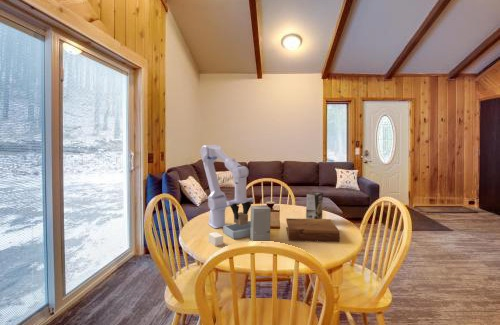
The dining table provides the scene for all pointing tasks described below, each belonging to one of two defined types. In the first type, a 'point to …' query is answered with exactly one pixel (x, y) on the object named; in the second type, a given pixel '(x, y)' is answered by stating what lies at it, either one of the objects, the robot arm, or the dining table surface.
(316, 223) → the brown flat block
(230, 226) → the tote
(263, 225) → the skincare box
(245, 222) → the walnut block
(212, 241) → the cream box
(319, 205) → the coffee box
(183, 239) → the dining table surface
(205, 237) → the dining table surface
